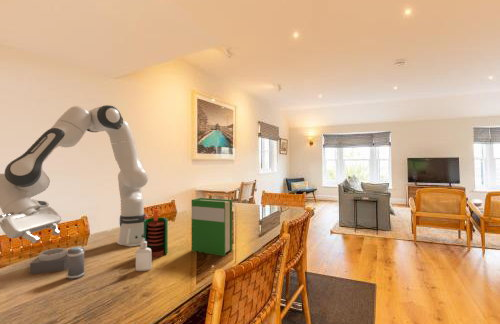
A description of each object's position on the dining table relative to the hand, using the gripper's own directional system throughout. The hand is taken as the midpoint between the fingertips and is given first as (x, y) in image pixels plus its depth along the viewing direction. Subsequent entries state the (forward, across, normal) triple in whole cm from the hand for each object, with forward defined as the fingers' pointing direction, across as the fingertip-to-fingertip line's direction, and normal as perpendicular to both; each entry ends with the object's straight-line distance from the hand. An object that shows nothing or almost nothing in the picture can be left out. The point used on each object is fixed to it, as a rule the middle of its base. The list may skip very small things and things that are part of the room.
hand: (47, 237), depth 97 cm
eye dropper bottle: (+33, +7, -13) cm, 36 cm away
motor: (+31, +25, -11) cm, 41 cm away
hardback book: (+49, +30, -29) cm, 64 cm away
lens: (+18, 0, +2) cm, 18 cm away
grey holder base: (+6, +8, +13) cm, 17 cm away
